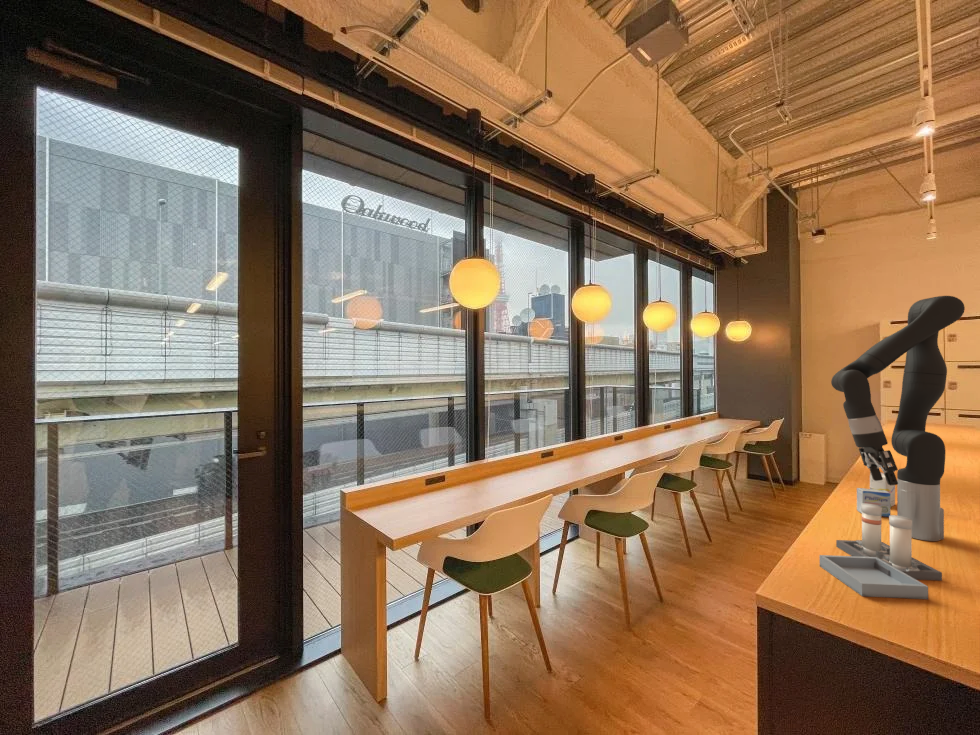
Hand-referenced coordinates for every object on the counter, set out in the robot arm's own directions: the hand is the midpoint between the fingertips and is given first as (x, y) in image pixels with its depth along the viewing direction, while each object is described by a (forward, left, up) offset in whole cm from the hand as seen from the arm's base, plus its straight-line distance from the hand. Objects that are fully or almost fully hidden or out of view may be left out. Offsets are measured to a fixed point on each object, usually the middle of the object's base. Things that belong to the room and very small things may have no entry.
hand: (885, 482), depth 124 cm
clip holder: (+13, +17, -17) cm, 27 cm away
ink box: (-24, -31, -18) cm, 42 cm away
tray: (+25, +27, -17) cm, 41 cm away
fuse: (+13, +21, -17) cm, 31 cm away
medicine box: (-13, -21, -18) cm, 30 cm away
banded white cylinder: (+13, +12, -17) cm, 25 cm away
